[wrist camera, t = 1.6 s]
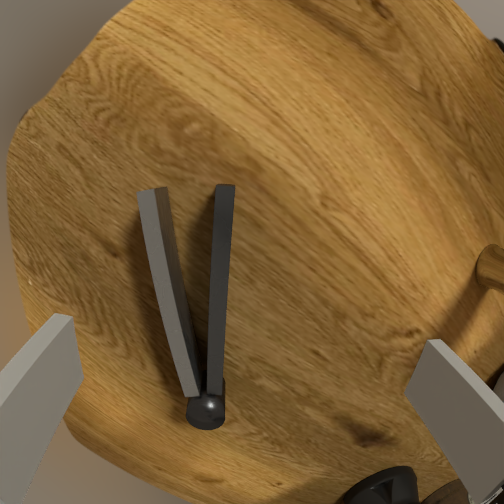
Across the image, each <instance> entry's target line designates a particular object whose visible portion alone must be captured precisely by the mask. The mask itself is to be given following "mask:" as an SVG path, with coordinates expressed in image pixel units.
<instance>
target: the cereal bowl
mask: <svg viewBox="0 0 504 504" xmlns="http://www.w3.org/2000/svg"><path fill="white" fill-rule="evenodd" d="M493 392H494V393H495V394H496V395H497V396H498V397H499V398H500V400H502V401H503V402H504V371H503V373H502V374H501V376H500V377H499V379H498V381H497V383H496V385H495V387H494V389H493Z"/></svg>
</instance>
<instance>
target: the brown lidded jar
mask: <svg viewBox="0 0 504 504" xmlns="http://www.w3.org/2000/svg"><path fill="white" fill-rule="evenodd" d="M421 504H475V503H474V501H473V499H472V498H471V496H470V494H469V493H468V491H467V489H466V488H465V486H464V485H463V483H462V481H461V480H460V479H457V480H455V481H452V482H450V483H448V484H447V485H445V486H443V487H441V488H440V489H438V490H437V491H435V492H434V493H433V494H431V495H430V496H429V497H428V498H426V499H425V500H424V501H423V502H422V503H421Z"/></svg>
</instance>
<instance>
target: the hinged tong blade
mask: <svg viewBox="0 0 504 504" xmlns="http://www.w3.org/2000/svg"><path fill="white" fill-rule="evenodd" d="M137 199H138V205H139V211H140V217H141V223H142V228H143V234H144V239H145V244H146V250H147V255H148V259H149V264H150V269H151V274H152V278H153V283H154V287H155V291H156V296H157V300H158V304H159V308H160V312H161V316H162V320H163V324H164V328H165V331H166V335H167V339H168V342H169V346H170V349H171V353H172V356H173V360H174V363H175V367H176V370H177V373H178V376H179V380H180V383H181V386H182V389H183V392H184V395H185V397H194V396H200V389H201V381H202V373H203V366H202V362H201V358H200V354H199V350H198V346H197V341H196V337H195V333H194V328H193V324H192V320H191V315H190V311H189V306H188V301H187V296H186V292H185V287H184V282H183V277H182V272H181V266H180V261H179V256H178V250H177V245H176V239H175V233H174V227H173V221H172V215H171V209H170V203H169V196H168V189H167V187H161V188H155V189H150V190H145V191H139V192H137Z"/></svg>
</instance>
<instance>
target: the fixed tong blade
mask: <svg viewBox="0 0 504 504" xmlns="http://www.w3.org/2000/svg"><path fill="white" fill-rule="evenodd" d="M234 196H235V185H231V184H217V185H216V192H215V206H214V221H213V237H212V254H211V274H210V296H209V322H208V358H207V370H203V373H202V381H201V389H200V396H194V397H189V399H188V405H187V411H186V419H187V421H188V422H189V423H190V424H191V425H192V426H194V427H196V428H198V429H202V430H213V429H216V428H219V427H220V426H221V425H222V424H223V423H224V421H225V380H224V378H223V362H224V344H225V326H226V309H227V293H228V278H229V263H230V249H231V235H232V222H233V209H234Z"/></svg>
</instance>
